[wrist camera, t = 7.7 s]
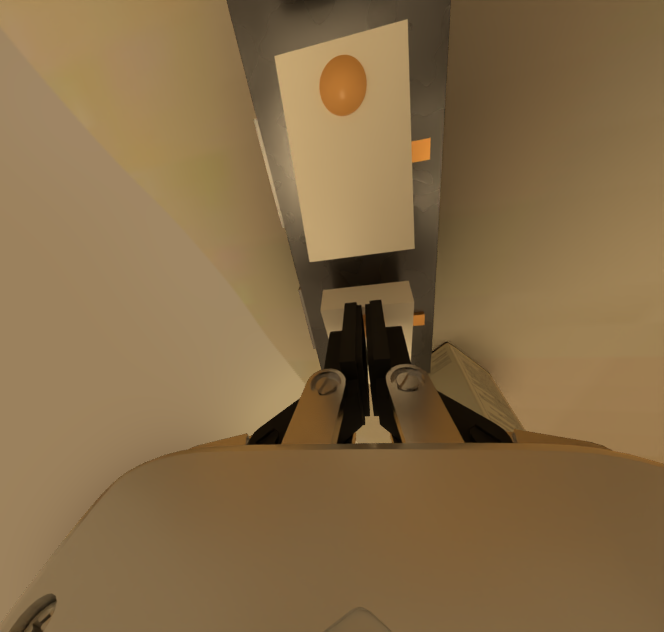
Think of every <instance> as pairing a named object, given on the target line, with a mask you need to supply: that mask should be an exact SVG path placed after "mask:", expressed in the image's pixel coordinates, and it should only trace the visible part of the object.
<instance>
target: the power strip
mask: <svg viewBox="0 0 664 632" xmlns="http://www.w3.org/2000/svg"><path fill="white" fill-rule="evenodd" d="M227 4H228V8H229V12H230V16H231V20H232V24H233V28H234V31H235V35H236V39H237V43H238V47H239V51H240V55H241V59H242V63H243V66H244V70H245V74H246V78H247V82H248V86H249V90H250V94H251V98H252V101H253V105H254V109H255V113H256V117H257V119H253V120H254V124H255V128H256V131H257V135H258V139H259V143H260V147H261V150H262V154H263V158H264V162H265V166H266V169H267V173H268V177H269V181H270V184H271V188H272V192H273V196H274V200H275V203H276V207H277V211H278V215H279V219H280V222H281V226H282V228H285V230H286V234H287V238H288V241H289V245H290V249H291V253H292V257H293V261H294V265H295V269H296V273H297V276H298V280H299V284H300V288H299V290H298V291H299V295H300V298H301V302H302V306H303V310H304V314H305V317H306V321H307V325H308V329H309V333H310V336H311V340H312V344H313V348H314V349H316V350H317V354H318V358H319V362H320V366H321V370H323V369H324V365H325V359H326V353H327V347H328V341H329V338H328V335H327V331H326V328H325V325H324V321H323V318H322V314H321V311H320V310H321V302H322V295H323V290H328V289H337V288H346V287H356V286H365V285H374V284H383V283H392V282H401V281H409V284H410V288H411V291H412V295H413V299H414V315H413V332H412V349H411V365H415V366H418V367H420V368H422V369H423V370H424V371H426V373H430V371H431V353H432V335H433V316H434V298H435V280H436V262H437V244H438V225H439V207H440V189H441V171H442V153H443V135H444V116H445V98H446V80H447V62H448V44H449V26H450V7H451V0H227ZM406 19H408V48H409V80H410V113H411V146H412V179H413V211H414V244H415V249H408V250H400V251H393V252H385V253H377V254H370V255H362V256H354V257H346V258H339V259H331V260H323V261H315V262H309V256H308V250H307V244H306V238H305V232H304V227H303V221H302V215H301V209H300V203H299V197H298V192H297V186H296V180H295V174H294V168H293V162H292V157H291V151H290V145H289V139H288V133H287V127H286V122H285V116H284V110H283V104H282V98H281V92H280V87H279V81H278V75H277V69H276V63H275V57H274V56H276V55H280V54H284V53H287V52H291V51H294V50H298V49H302V48H305V47H309V46H313V45H316V44H320V43H323V42H327V41H331V40H334V39H338V38H341V37H345V36H349V35H352V34H356V33H359V32H363V31H367V30H370V29H374V28H378V27H381V26H385V25H388V24H392V23H396V22H399V21H403V20H406Z"/></svg>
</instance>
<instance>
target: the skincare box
mask: <svg viewBox="0 0 664 632" xmlns="http://www.w3.org/2000/svg"><path fill="white" fill-rule="evenodd" d="M427 374H428V375H429V377H430V379H431V381H432V383H433V385H434V386H435V388H436V390H437V391H439V392H441V393H443V394H444V395H446V396H448V397H450V398H451V399H453V400H455V401H457V402H459V403H460V404H462V405H464V406H466V407H467V408H469V409H471V410H473V411H474V412H476V413H478V414H480V415H482V416H483V417H485V418H487V419H489V420H490V421H492V422H494V423H496V424H497V425H498V426H500V427H501V428H503V429H504V430H505V431H508V432H513V430H514V429H517V430H523V431H526V430H525V429H524V427H523V426H522V424H521V423H520V421H519V419H518V418H517V416H516V415H515V413H514V411H513V410H512V408H511V407H510V405H509V403H508V402H507V400H506V399H505V397H504V396H503V394H502V392H501V391H500V389H499V388H498V386H497V384H496V383H495V381H494V380H493V378H492V376H491V375H490V374H489V373H488V372H487V371H485V370H484V369H483V368H482V367H480V366H479V365H478V364H477V363H475V362H474V361H473V360H471V359H470V358H469V357H467V356H466V355H465V354H463V353H462V352H461V351H459V350H458V349H456V348H455V347H454V346H452V345H451V344H449V343H446V344H444V345H443V346H442V347H440V348H439V349H438V350H436V351H435V352H433V353H432V354H431V371H430V373H427Z"/></svg>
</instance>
